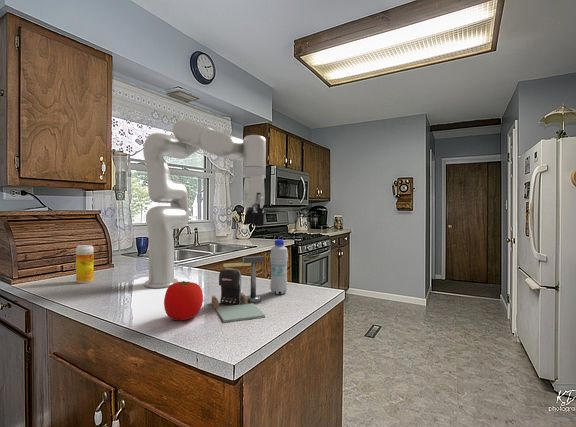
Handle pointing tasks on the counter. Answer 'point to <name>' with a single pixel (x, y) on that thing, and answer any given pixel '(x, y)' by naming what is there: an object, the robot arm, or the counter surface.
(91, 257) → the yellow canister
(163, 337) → the counter surface
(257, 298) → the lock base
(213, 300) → the holder
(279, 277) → the bottle
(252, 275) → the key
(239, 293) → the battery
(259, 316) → the mat
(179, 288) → the tomato
